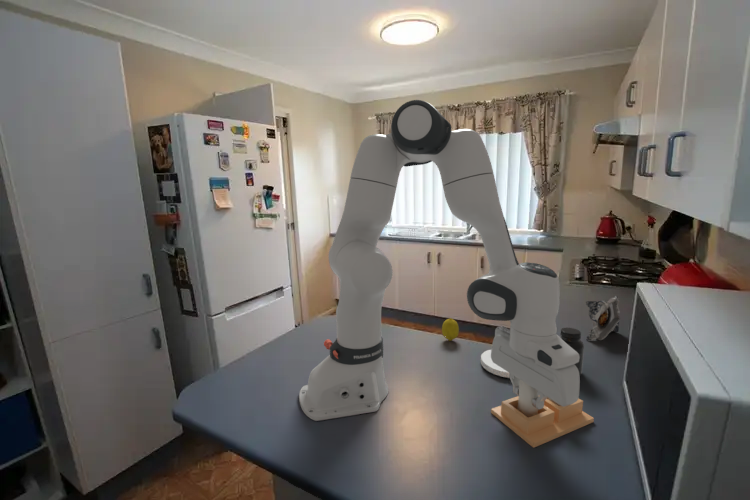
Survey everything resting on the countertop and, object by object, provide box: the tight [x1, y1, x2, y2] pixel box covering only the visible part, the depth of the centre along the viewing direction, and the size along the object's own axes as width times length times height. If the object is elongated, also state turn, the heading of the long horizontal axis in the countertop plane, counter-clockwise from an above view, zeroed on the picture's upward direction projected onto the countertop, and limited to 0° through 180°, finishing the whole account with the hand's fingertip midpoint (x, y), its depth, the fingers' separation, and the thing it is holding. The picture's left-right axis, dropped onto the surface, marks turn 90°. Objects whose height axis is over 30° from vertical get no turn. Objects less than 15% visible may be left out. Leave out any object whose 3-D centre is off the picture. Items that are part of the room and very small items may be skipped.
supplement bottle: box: [559, 327, 585, 376], centre depth 96 cm, size 7×7×12 cm
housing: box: [490, 395, 595, 449], centre depth 77 cm, size 18×12×9 cm, turn 114°
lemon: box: [441, 317, 460, 342], centre depth 116 cm, size 6×6×8 cm
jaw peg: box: [518, 380, 539, 418], centre depth 75 cm, size 4×4×8 cm
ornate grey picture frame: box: [585, 295, 621, 341], centre depth 118 cm, size 15×4×13 cm, turn 120°
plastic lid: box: [480, 348, 510, 379], centre depth 99 cm, size 14×14×2 cm
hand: (527, 400), depth 75 cm, fingers closed on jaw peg, 4 cm apart
